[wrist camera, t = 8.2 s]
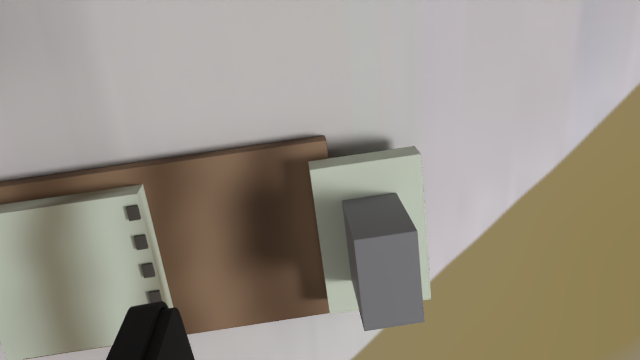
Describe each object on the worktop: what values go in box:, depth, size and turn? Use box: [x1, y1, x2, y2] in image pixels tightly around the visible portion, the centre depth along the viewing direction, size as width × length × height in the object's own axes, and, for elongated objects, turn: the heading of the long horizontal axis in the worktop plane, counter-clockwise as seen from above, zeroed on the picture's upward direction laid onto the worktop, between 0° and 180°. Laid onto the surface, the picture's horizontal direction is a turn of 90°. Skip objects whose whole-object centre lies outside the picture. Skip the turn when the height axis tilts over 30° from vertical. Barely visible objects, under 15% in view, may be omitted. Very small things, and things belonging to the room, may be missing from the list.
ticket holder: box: [0, 136, 330, 360], centre depth 34 cm, size 20×11×3 cm, turn 97°
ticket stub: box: [308, 146, 431, 331], centre depth 31 cm, size 6×9×6 cm, turn 7°
